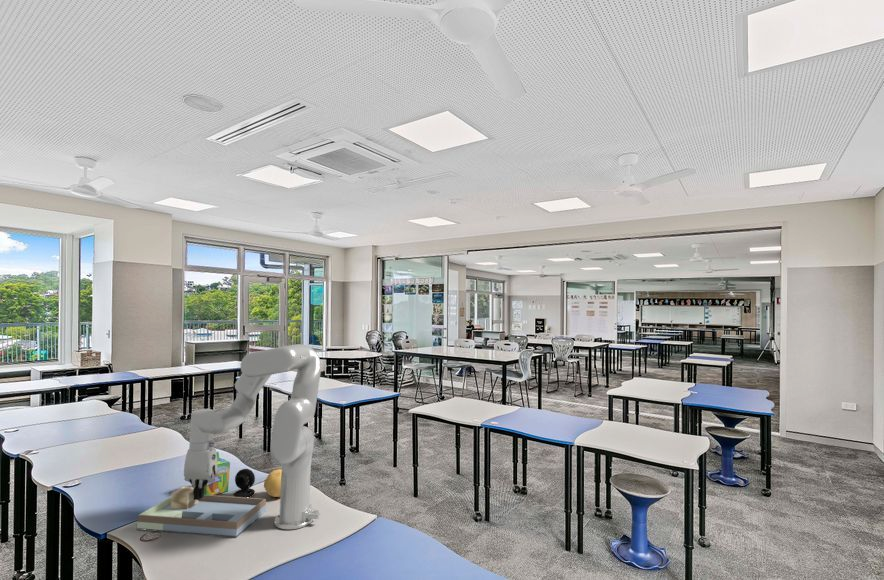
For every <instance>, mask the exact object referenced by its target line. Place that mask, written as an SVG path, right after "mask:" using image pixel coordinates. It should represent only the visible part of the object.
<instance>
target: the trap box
mask: <svg viewBox="0 0 884 580" xmlns="http://www.w3.org/2000/svg"><path fill="white" fill-rule="evenodd" d="M266 503H267V499H266V498H258V497H249V498H246V497H234V496H232V495H231V496H230V495H229V496H228V495H218V494H217V495H204V496H203V497H202V498H201V499H199V500H198V502H197V503H196V504H194V505H193V506H191V507H190V508H188V509H176V508H171V496H169V497H167V498H165V499H164V500H162V501H160V502H159V503H156V504H155V505H153V506H151V507H150V508H148V509H146V510H145V511H144V510H143V512H141V513H139V514H137V520H136V529H137V528H138V529H146V530H145V531H147V530H156V531H155V532H159V531H163V532H162V533H175V534H185V535H198V536H199V535H200V536H210V537H213V536H214V537H224V538H234V539H235V538H236V539H237V538H238V537H239V536H240V535H241V534H242V533H244V531H246V530H247V529H248V528H249V527H250V526H251V525H252V524H253V523H254V522H255V520H256V519H257V518H258V517H259V518H260V517H261V516H262V515H264V514H265V513H266ZM264 512H265V513H264ZM261 514H262V515H261ZM260 515H261V516H260ZM259 518H258V519H259ZM258 519H257V520H258ZM257 520H256V521H257ZM249 525H250V526H249ZM248 526H249V527H248ZM247 527H248V528H247ZM246 528H247V529H246Z"/></svg>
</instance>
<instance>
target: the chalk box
mask: <svg viewBox="0 0 884 580" xmlns="http://www.w3.org/2000/svg"><path fill="white" fill-rule="evenodd" d="M216 453H217V475H215V476H214V477H215V481H213V482H211V483H207V484H206V485H205V490H204V495H217V496H218V495H221V494H224V493H228V492H229V482H230V469H231V468H230V465H231V462H230V461H227V460H226V459H225V458H221V457H220V454H219V453H220V452H218V451H216Z"/></svg>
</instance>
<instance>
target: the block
mask: <svg viewBox="0 0 884 580" xmlns="http://www.w3.org/2000/svg"><path fill="white" fill-rule="evenodd" d="M193 494H194V488H192V486H182V487H180V488H179V489H177V490H175V491H173V492H171V495H170V497H171V508H176V509H188V508H190V507H191V506H193V505H194V504H196V503H197V502H198V500H194V496H193Z"/></svg>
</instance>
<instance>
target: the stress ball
mask: <svg viewBox="0 0 884 580" xmlns="http://www.w3.org/2000/svg"><path fill="white" fill-rule="evenodd" d="M281 475H282V468H279V469H275V470H273V471H271V472H270V473H269V474H268V475H267V476H266V478H265V479H264V482H263V488H264V490H265V492H266V493H267V494H268V495H269V496H270V497H273V498H275V497H278V498H280V495H281Z"/></svg>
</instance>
